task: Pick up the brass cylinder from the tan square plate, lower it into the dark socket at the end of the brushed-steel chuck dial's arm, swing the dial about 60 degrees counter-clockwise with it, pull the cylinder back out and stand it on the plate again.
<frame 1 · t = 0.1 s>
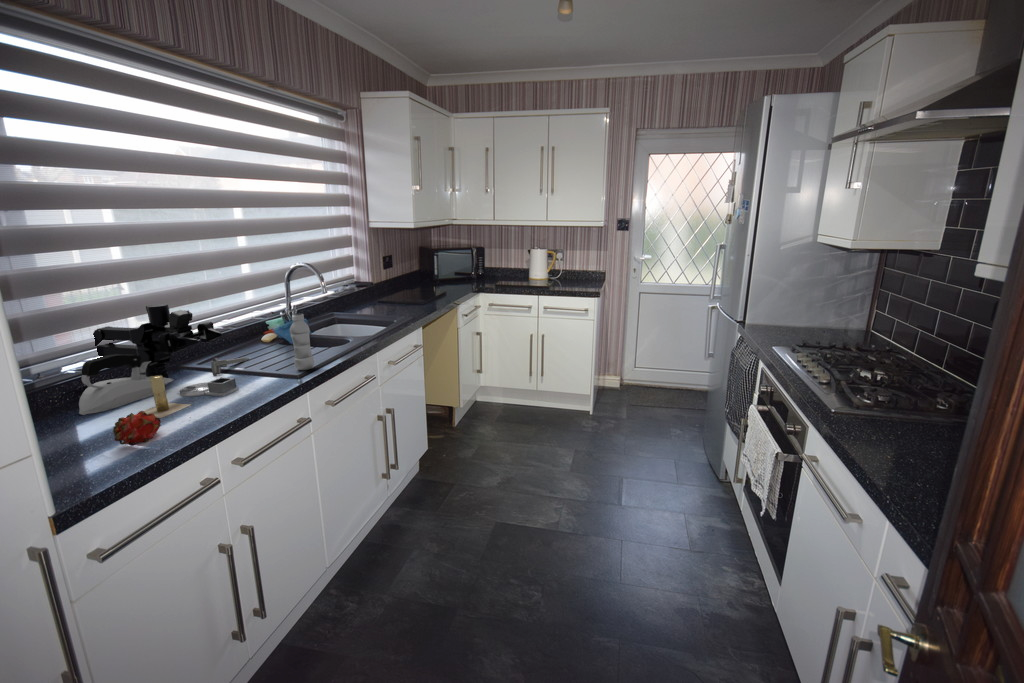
hand: (209, 338, 165), 17 cm above the countertop, tool horizontal, fingers open, 9 cm apart
plastic bottle: (305, 370, 185), on the countertop
brass cylinder: (163, 409, 149), point 1 cm above the countertop, touching tan square plate
tan square plate: (163, 411, 149), on the countertop
iron: (126, 402, 159), on the countertop
dragon fruit: (141, 441, 130), on the countertop
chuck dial: (207, 385, 164), point 2 cm above the countertop, hinge at 0.0°
caliper: (232, 368, 191), on the countertop
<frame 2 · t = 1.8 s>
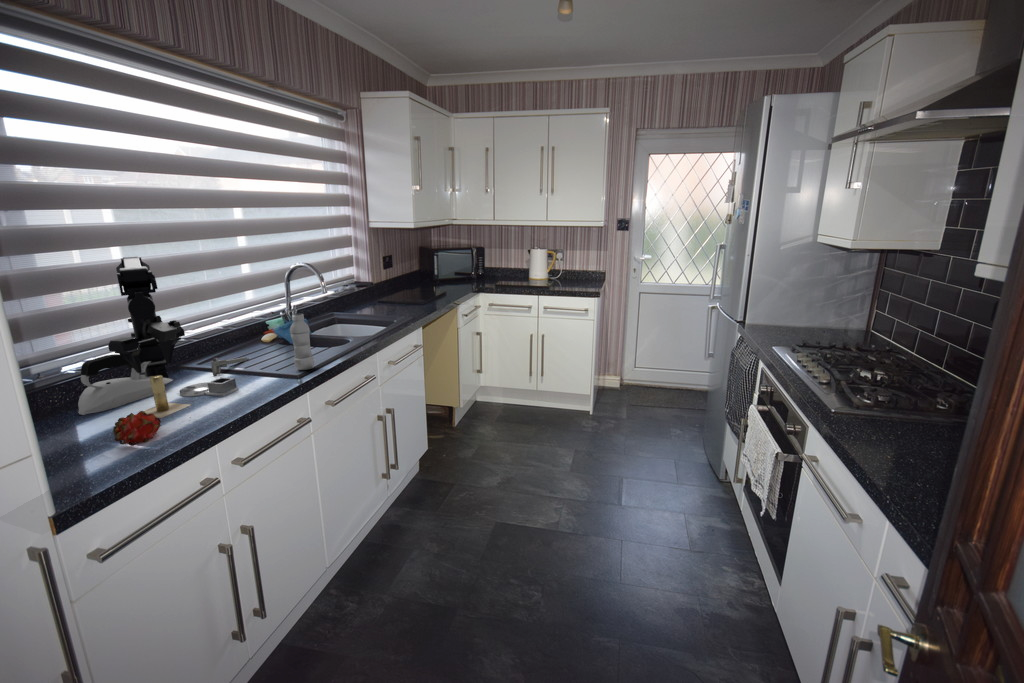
hand: (154, 367, 146), 13 cm above the countertop, tool pointing down, fingers open, 9 cm apart
nothing on the countertop moved.
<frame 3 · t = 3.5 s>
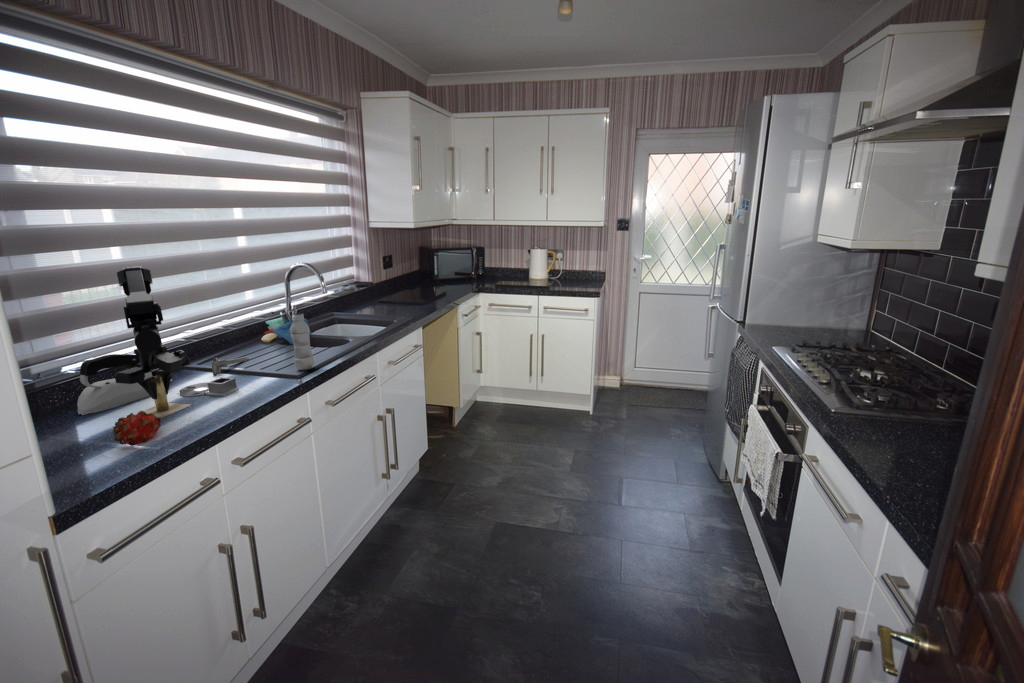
hand: (160, 397, 148), 5 cm above the countertop, tool pointing down, fingers closed on brass cylinder, 3 cm apart
brass cylinder: (163, 409, 149), point 1 cm above the countertop, touching gripper, tan square plate
everything else where it was.
when the fingers open (5 cm above the countertop, at t = 7.8 s): brass cylinder stays where it is, resting on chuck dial.
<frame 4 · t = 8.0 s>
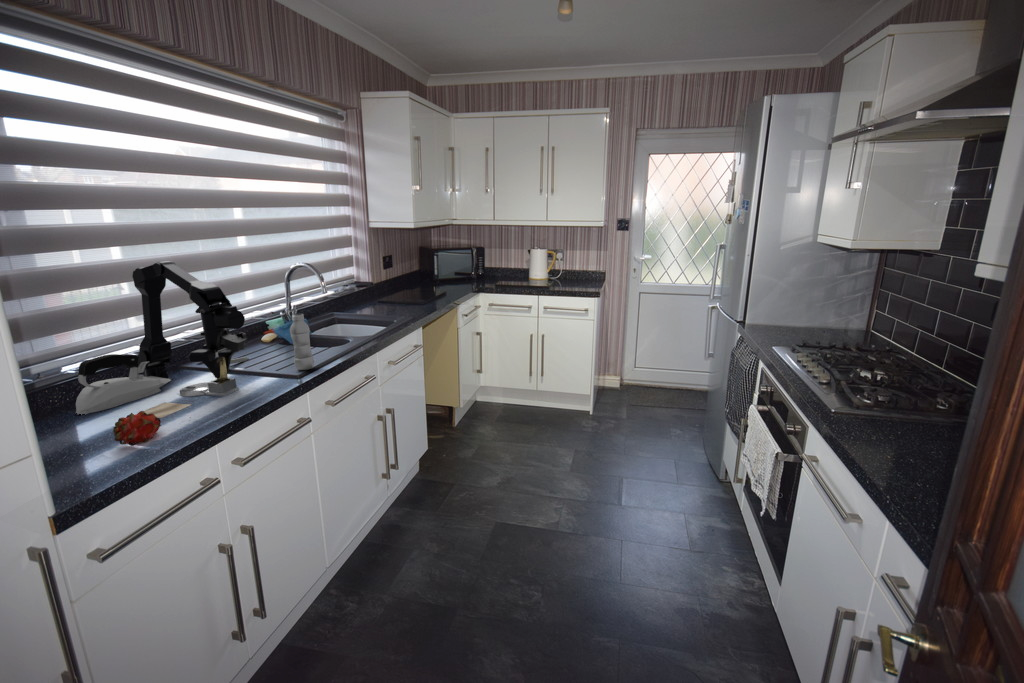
hand: (222, 376, 162), 6 cm above the countertop, tool pointing down, fingers open, 4 cm apart
brass cylinder: (223, 388, 163), point 2 cm above the countertop, touching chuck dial, gripper
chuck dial: (207, 385, 164), point 2 cm above the countertop, hinge at 0.5°, touching brass cylinder
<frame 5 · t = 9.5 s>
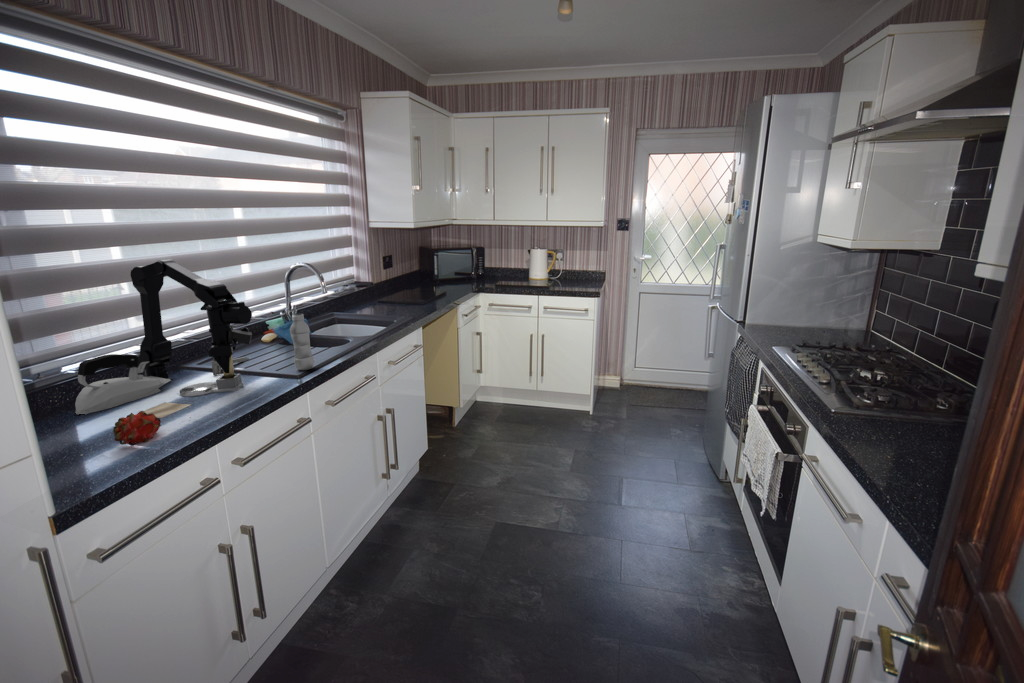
hand: (228, 371, 166), 6 cm above the countertop, tool pointing down, fingers open, 4 cm apart
brass cylinder: (229, 384, 166), point 2 cm above the countertop, tilted 8°, touching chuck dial, gripper
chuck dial: (210, 384, 165), point 2 cm above the countertop, hinge at 24.1°, touching brass cylinder
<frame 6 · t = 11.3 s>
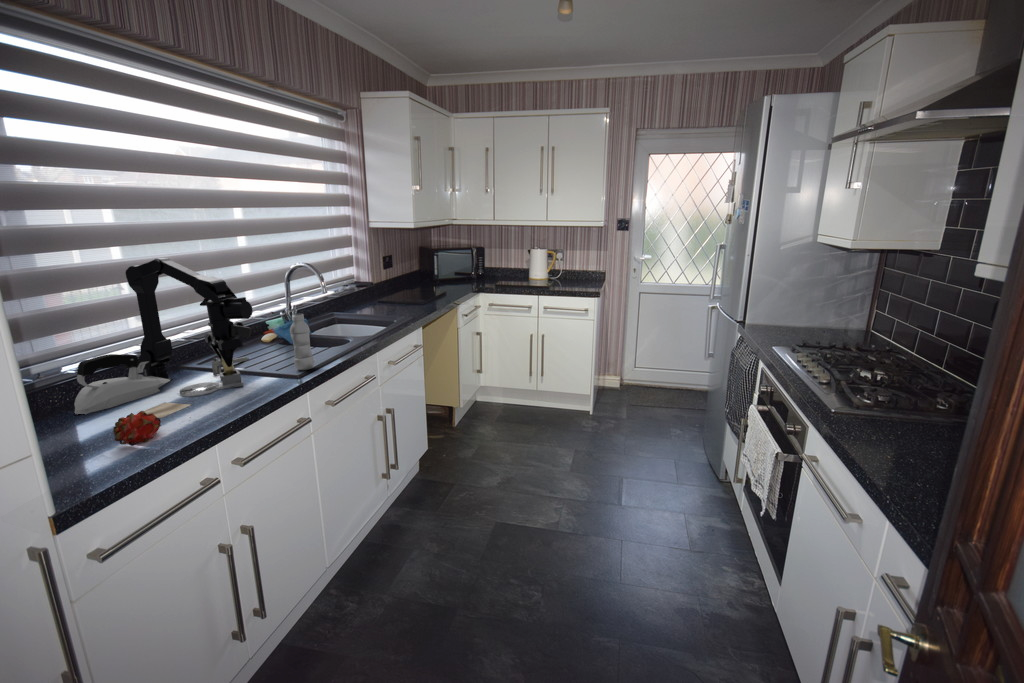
hand: (227, 365, 169), 7 cm above the countertop, tool pointing down, fingers closed on brass cylinder, 3 cm apart
brass cylinder: (230, 379, 169), point 2 cm above the countertop, tilted 12°, touching gripper
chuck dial: (210, 383, 166), point 2 cm above the countertop, hinge at 50.0°
when the fingers open (6 cm above the countertop, at t = 15.6 s): brass cylinder stays where it is, resting on tan square plate.
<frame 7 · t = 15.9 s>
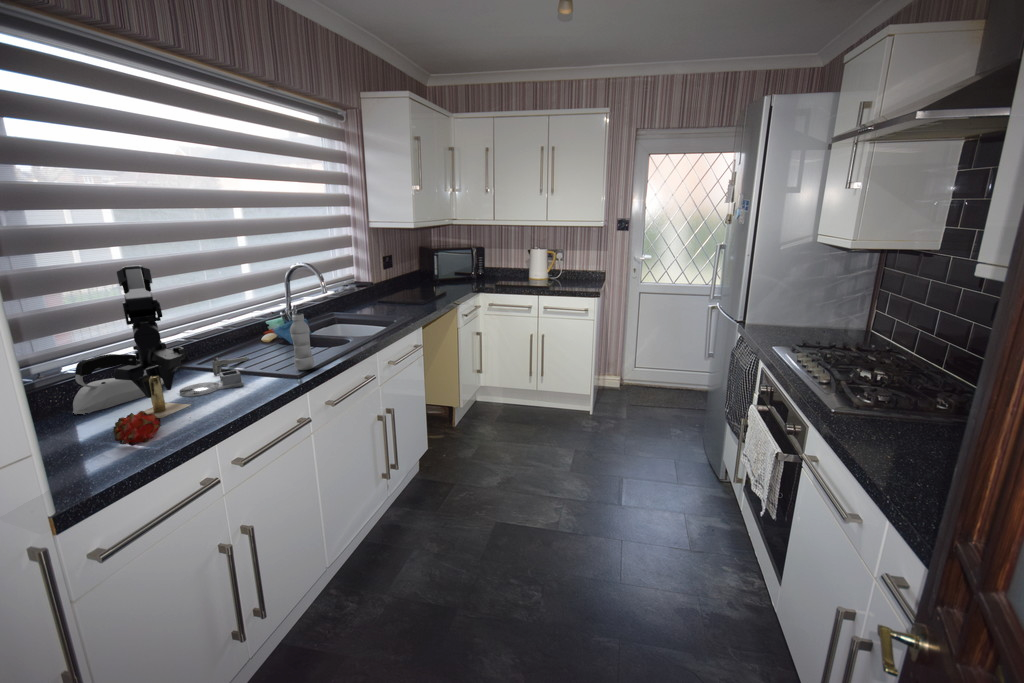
hand: (159, 393, 148), 6 cm above the countertop, tool pointing down, fingers open, 6 cm apart
brass cylinder: (159, 410, 148), point 1 cm above the countertop, touching tan square plate
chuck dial: (210, 383, 166), point 2 cm above the countertop, hinge at 50.5°
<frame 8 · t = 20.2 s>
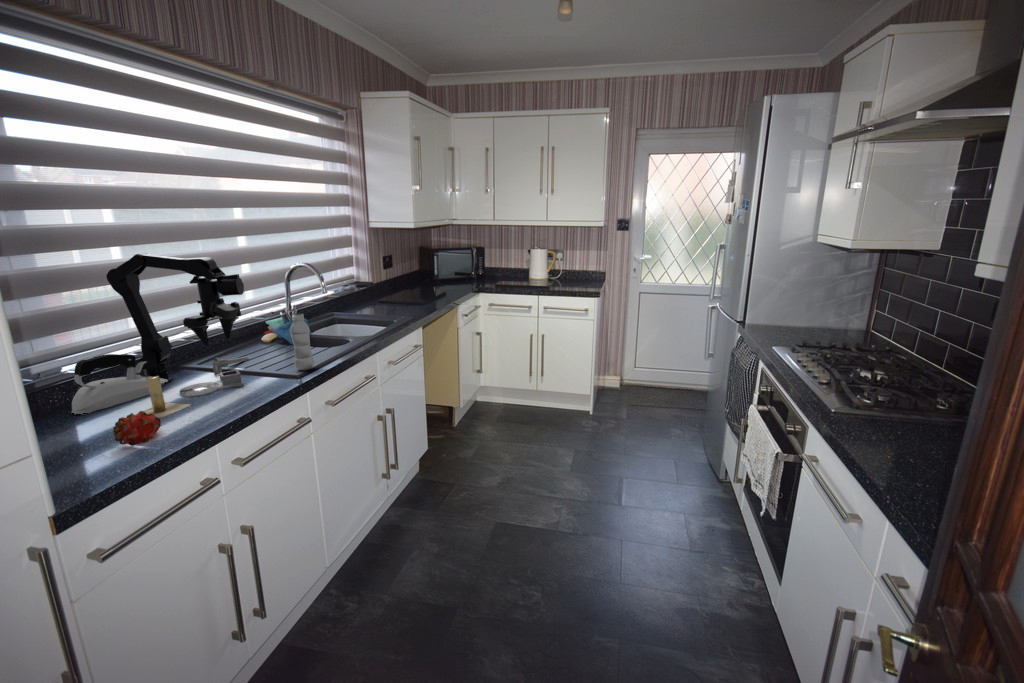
hand: (217, 342, 175), 13 cm above the countertop, tool pointing down, fingers open, 9 cm apart
at the end: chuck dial at +50° (first picture: +0°); brass cylinder inside the target area (0.9 cm from its centre), point 0.6 cm above the countertop; brass cylinder tilted 0° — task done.
